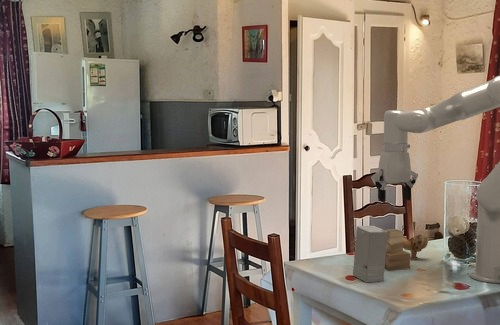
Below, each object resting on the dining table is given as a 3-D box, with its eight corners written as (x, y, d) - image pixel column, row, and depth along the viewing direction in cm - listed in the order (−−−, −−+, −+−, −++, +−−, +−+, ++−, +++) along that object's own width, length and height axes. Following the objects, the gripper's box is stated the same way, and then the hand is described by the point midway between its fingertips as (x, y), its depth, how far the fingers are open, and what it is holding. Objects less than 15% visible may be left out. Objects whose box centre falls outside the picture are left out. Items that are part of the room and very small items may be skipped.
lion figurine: (430, 259, 208) (430, 233, 207) (423, 262, 204) (424, 236, 203) (391, 252, 217) (391, 228, 216) (384, 255, 213) (384, 230, 212)
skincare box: (352, 275, 187) (353, 225, 186) (372, 273, 190) (373, 224, 188) (366, 283, 179) (367, 231, 178) (387, 281, 182) (388, 229, 180)
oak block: (402, 252, 196) (403, 231, 196) (391, 253, 195) (391, 232, 194) (394, 249, 201) (395, 228, 200) (383, 250, 199) (383, 229, 198)
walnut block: (409, 268, 196) (410, 253, 195) (389, 270, 193) (389, 255, 193) (395, 262, 203) (395, 247, 203) (375, 264, 200) (375, 249, 200)
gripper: (410, 146, 201) (409, 197, 203) (366, 148, 195) (365, 200, 196) (424, 148, 194) (423, 200, 196) (379, 149, 188) (378, 204, 189)
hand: (394, 200), depth 196 cm, fingers open, 9 cm apart
